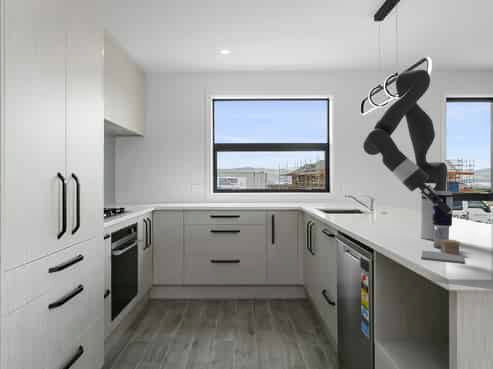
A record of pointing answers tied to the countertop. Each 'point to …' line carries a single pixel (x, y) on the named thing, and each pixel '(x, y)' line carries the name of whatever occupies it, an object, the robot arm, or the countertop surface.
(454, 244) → the walnut block
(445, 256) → the mat
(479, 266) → the countertop surface
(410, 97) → the robot arm
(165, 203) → the countertop surface
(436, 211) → the beverage can
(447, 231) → the grey tin
